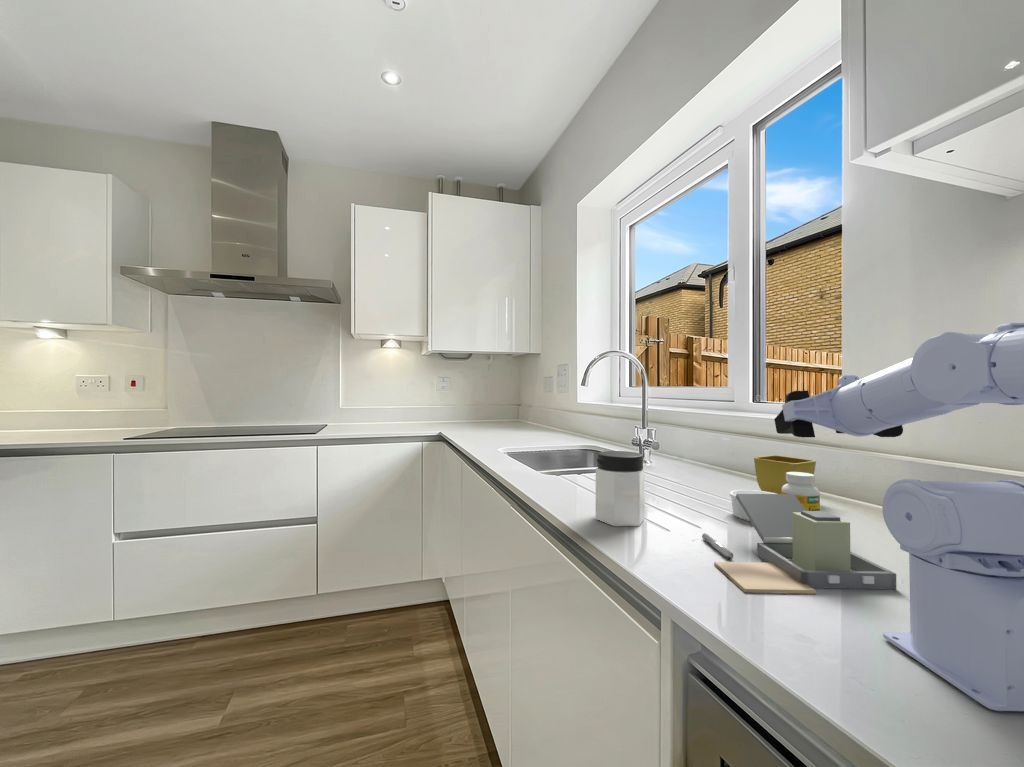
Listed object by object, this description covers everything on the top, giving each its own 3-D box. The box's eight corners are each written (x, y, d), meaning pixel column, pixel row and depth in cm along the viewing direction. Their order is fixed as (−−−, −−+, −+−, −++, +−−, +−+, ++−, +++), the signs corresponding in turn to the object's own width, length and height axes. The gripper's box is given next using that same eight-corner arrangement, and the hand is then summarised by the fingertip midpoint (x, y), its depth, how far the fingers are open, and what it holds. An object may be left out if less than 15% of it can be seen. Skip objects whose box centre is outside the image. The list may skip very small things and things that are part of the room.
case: (898, 590, 50) (898, 574, 50) (805, 588, 50) (804, 573, 51) (834, 556, 61) (834, 543, 61) (757, 555, 61) (757, 542, 61)
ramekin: (726, 519, 79) (726, 495, 79) (734, 508, 86) (733, 487, 86) (783, 528, 74) (782, 502, 74) (786, 516, 81) (785, 493, 81)
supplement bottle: (790, 524, 76) (790, 469, 76) (826, 532, 71) (825, 474, 71) (775, 529, 73) (775, 472, 73) (811, 538, 68) (810, 478, 68)
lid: (830, 557, 60) (829, 507, 60) (765, 556, 60) (764, 506, 61) (792, 537, 69) (792, 493, 69) (735, 536, 69) (735, 493, 69)
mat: (815, 593, 49) (815, 590, 49) (745, 592, 50) (745, 589, 50) (774, 565, 57) (774, 562, 57) (714, 564, 57) (714, 561, 57)
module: (850, 579, 53) (850, 519, 54) (814, 578, 54) (814, 518, 54) (825, 564, 58) (825, 509, 58) (792, 564, 58) (792, 509, 58)
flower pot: (817, 502, 91) (817, 460, 91) (795, 507, 87) (795, 463, 87) (775, 493, 99) (774, 454, 99) (752, 498, 94) (752, 457, 94)
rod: (733, 559, 59) (733, 552, 59) (726, 559, 59) (726, 552, 59) (708, 539, 67) (708, 533, 67) (702, 539, 67) (701, 533, 67)
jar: (604, 511, 84) (604, 449, 84) (647, 516, 80) (647, 452, 80) (590, 523, 76) (590, 455, 76) (637, 530, 72) (637, 458, 72)
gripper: (950, 361, 45) (856, 396, 58) (809, 362, 46) (747, 397, 59) (971, 427, 43) (869, 448, 56) (824, 427, 44) (756, 448, 56)
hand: (807, 425), depth 57 cm, fingers open, 7 cm apart
